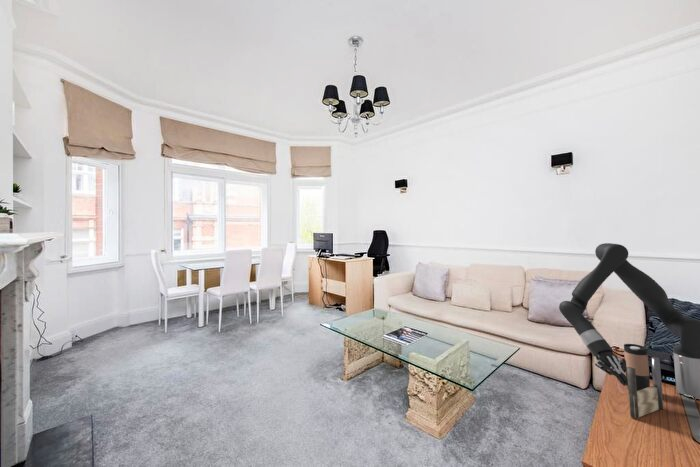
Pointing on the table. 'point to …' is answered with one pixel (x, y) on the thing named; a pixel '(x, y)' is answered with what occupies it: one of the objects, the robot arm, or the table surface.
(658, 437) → the table surface
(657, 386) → the gate post
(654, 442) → the table surface
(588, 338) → the robot arm
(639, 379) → the travel mug
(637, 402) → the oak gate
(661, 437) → the table surface
